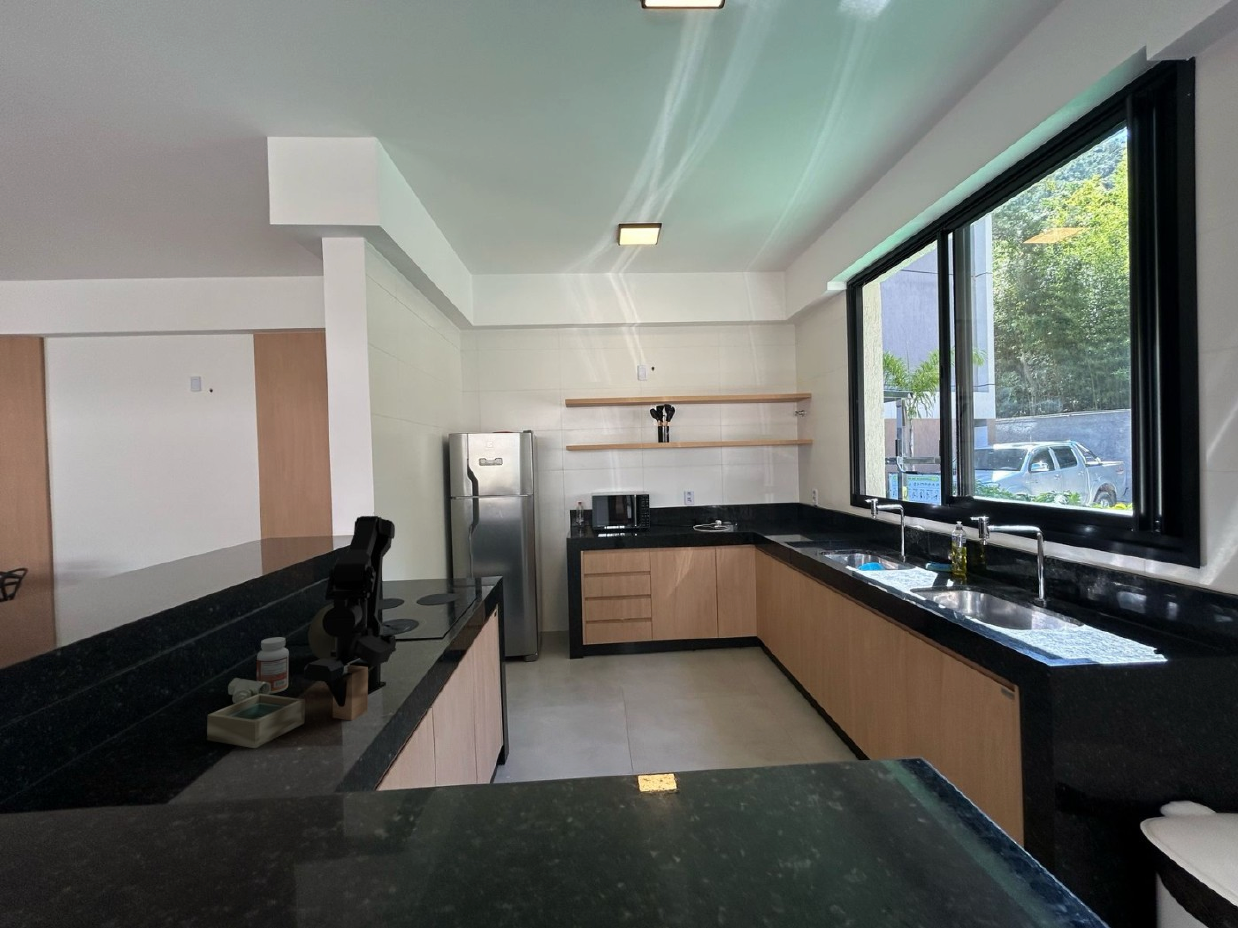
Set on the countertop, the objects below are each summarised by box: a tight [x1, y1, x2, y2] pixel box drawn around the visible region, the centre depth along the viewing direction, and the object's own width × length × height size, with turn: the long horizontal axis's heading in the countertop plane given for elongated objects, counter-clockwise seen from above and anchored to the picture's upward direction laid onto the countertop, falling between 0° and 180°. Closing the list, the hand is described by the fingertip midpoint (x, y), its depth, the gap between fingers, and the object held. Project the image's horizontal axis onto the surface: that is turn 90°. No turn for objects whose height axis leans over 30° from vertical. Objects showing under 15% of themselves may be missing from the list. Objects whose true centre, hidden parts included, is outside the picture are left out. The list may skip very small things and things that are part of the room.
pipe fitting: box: [227, 677, 271, 704], centre depth 126 cm, size 8×4×7 cm
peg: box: [332, 664, 369, 721], centre depth 119 cm, size 4×4×9 cm
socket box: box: [206, 694, 306, 749], centre depth 111 cm, size 11×11×4 cm
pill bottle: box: [256, 636, 290, 695], centre depth 132 cm, size 6×6×11 cm
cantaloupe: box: [307, 603, 336, 660], centre depth 151 cm, size 14×14×15 cm
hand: (350, 701), depth 119 cm, fingers closed on peg, 4 cm apart
